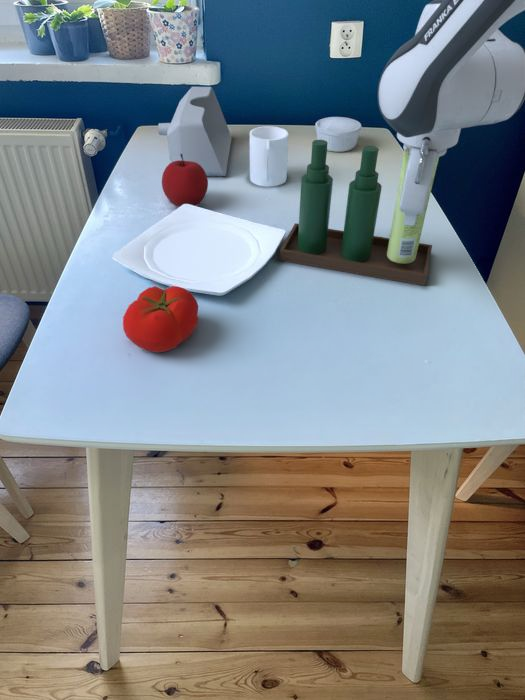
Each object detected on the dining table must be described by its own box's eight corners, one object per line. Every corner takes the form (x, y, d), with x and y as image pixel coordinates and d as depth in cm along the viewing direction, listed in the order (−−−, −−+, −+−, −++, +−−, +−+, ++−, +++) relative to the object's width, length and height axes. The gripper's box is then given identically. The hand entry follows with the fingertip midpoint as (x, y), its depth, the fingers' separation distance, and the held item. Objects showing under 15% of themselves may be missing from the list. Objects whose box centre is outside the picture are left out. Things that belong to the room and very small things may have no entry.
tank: (169, 136, 139) (164, 84, 131) (231, 137, 139) (230, 85, 131) (153, 177, 121) (146, 120, 112) (225, 178, 120) (222, 120, 112)
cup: (248, 193, 115) (247, 146, 108) (250, 170, 124) (250, 125, 117) (286, 194, 115) (288, 147, 108) (286, 171, 124) (288, 126, 117)
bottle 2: (372, 250, 97) (389, 144, 84) (367, 265, 93) (385, 157, 81) (344, 245, 98) (356, 140, 85) (338, 260, 94) (350, 152, 82)
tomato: (116, 350, 77) (108, 313, 73) (153, 307, 85) (148, 271, 80) (177, 366, 75) (172, 330, 70) (210, 320, 82) (207, 285, 78)
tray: (429, 255, 97) (432, 244, 96) (424, 286, 90) (427, 275, 88) (294, 233, 102) (294, 223, 101) (279, 260, 95) (279, 250, 94)
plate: (294, 242, 100) (295, 229, 98) (226, 313, 84) (225, 299, 82) (184, 212, 108) (183, 199, 107) (103, 271, 92) (100, 257, 90)
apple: (157, 210, 109) (151, 162, 102) (173, 191, 115) (168, 144, 109) (200, 216, 107) (197, 167, 101) (214, 196, 114) (212, 149, 107)
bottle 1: (328, 242, 99) (339, 138, 86) (322, 257, 95) (332, 150, 82) (301, 238, 100) (307, 134, 87) (294, 252, 96) (299, 146, 84)
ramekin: (308, 139, 139) (309, 118, 135) (349, 135, 141) (351, 114, 137) (322, 155, 130) (324, 133, 127) (365, 151, 133) (368, 130, 129)
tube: (389, 246, 96) (409, 134, 83) (418, 251, 95) (443, 138, 82) (383, 262, 92) (404, 148, 79) (414, 267, 91) (440, 152, 78)
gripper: (447, 156, 70) (425, 248, 79) (454, 108, 85) (435, 190, 94) (398, 150, 72) (382, 242, 81) (414, 104, 86) (399, 185, 96)
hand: (411, 214), depth 88 cm, fingers closed on tube, 5 cm apart
